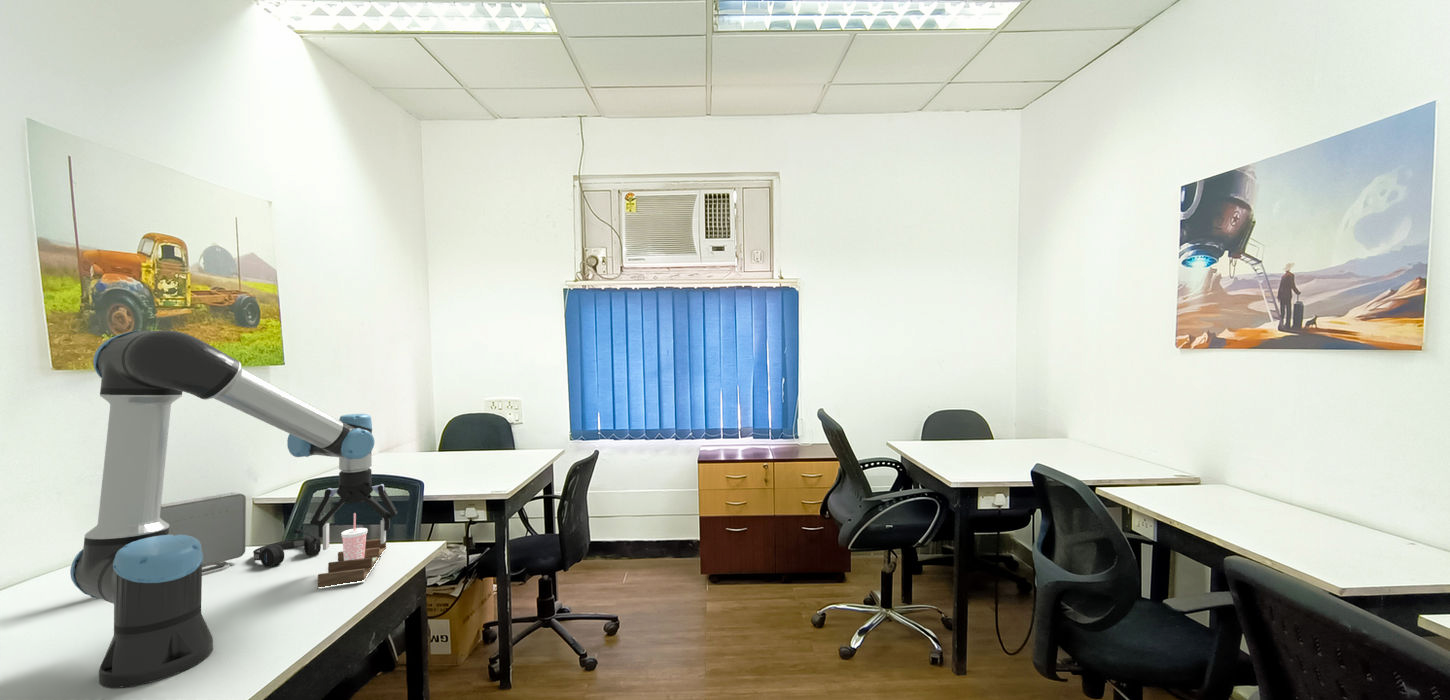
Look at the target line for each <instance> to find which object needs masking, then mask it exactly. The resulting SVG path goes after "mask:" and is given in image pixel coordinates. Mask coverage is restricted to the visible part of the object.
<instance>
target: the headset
mask: <svg viewBox="0 0 1450 700" xmlns="http://www.w3.org/2000/svg"><path fill="white" fill-rule="evenodd" d="M293 533H295V534H301V533H302V534H304V535H308V536H306V537H305V538H296V539H294V538H293V539H288V540H283V541H278V542H275V543H270V544H266V545H263V546H261V547H258V548H256V549H254V550H253V560H254V561H260V562H261V564H262V565H263V566H265V567H269V568H270V567H273V566H278V565H280V564H282V563H283V562H284V560H285V551H284V550H290V549H296V548H302V547H303V550H304V553H305V556H307V557H311V556H313V555H317V554H320V552H321V548H322V545H321V544H322V543H321V538H319V536H318V535H312V534H310V533H308V532H304V531H302V530H301V529H297V528H296V529H294V530H293Z"/></svg>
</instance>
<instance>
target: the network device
mask: <svg viewBox="0 0 1450 700" xmlns="http://www.w3.org/2000/svg"><path fill="white" fill-rule="evenodd" d="M246 498H247V497H246V495H245V494H243V493H240V492H237V491H233V492H227V493H221V494H216V495H209V496H204V497H203V496H202V497H197V498H191V499H190V498H189V499H185V500H178V501H173V502H167V503H161V511H160V518H161V519H162V520H163V521H165V522H166V523H168V524H169V535H173V536H176V535H187V536H191V537H194V538H196V539H197V540H199V542H200V544H201V550H202V553H203V560H202V568H205V567H209V566H215V565H219V566H221V567H219V568H214V569H211V570H206V571H202V577H203V576H207V575H211V574H216V573H219V572H222V571H226V570H227V569H229V568H230V567H231V564H230V563H229V562H227V561H231V560H234V559H239V558H241V557H242V556H244V554H245V553H246V540H247V539H246V536H247V535H246V530H247V529H246V526H247V525H246V520H247V519H246V518H247V517H246V515H247V514H246V513H247V511H246V510H247V506H246V504H247V503H246V502H247V499H246Z"/></svg>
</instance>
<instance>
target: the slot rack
mask: <svg viewBox="0 0 1450 700" xmlns="http://www.w3.org/2000/svg"><path fill="white" fill-rule="evenodd" d="M385 549H386V550H387V540H386V541H385V542H384V544H381V538H377V539H376V538H374V539H368V540H367V539H366V544H365V556H364V558H363V559H354V560H345V561H344V554H343V550H342V551H338V552H337V561H331V562H330V561H329V562H328V565H327V566H328V568H327V569H328V570H327V571H328V572H324V573H318V574H317V588H318V587H325V586H331V585H337V584H343V583H350V582H357V581H362V580H364V579H365V578H366V576H367V574H368V573H369V572H370V570H371V569H372V567H373V566H374V564H375V563H376V561H377V560H378V558H379V557H380V555H381V554H382V552H383V551H384V550H385Z"/></svg>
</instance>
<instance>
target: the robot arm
mask: <svg viewBox="0 0 1450 700" xmlns="http://www.w3.org/2000/svg"><path fill="white" fill-rule="evenodd" d="M92 363H93V368H94V370H95V372H96V374H97V375H98V376H99V378H100V379H101V380H100V381H101V382H100V390H99V391H100V392H99V397H100V398H102V399H104V400H105V401H106V402H107V403H109V415H108V423H107V432H106V433H107V434H106V440H105V451H104V460H103V461H104V463H103V470H102V480H101V489H100V496H99V497H100V499H99V508H98V518H97V525H96V526H94V527H93V528H91V529H90V530H89V531H87V532H86V533H84V534H85V535H84V538H83V539H84V540H83V546H82V547H83V548H82V549H81V550H80V551H78V553H77V554H76V556H75V557H74V558H73V560H72V563H71V565H70V570H69V571H70V573H69V574H70V579H71V581H72V583H73V584H74V586H75V588H77V589H78V590H79V591H80V592H82V594H84V595H87V596H90V597H91V598H93V599H98V600H99V599H100V600H103V601H106V602H109V603H110V604H113V636H112V638H111V641H110V643H109V646H108V648H107V650H106V652H105V655H104V657H103V660H102V662H101V664H100V666H99V669H98V683H99V685H100V686H102V687H105V688H114V689H115V688H117V689H118V688H128V687H133V686H135V687H136V686H139V685H143V684H149V683H152V682H156V681H159V680H162V679H165V678H168V676H169V677H171V676H174V675H177V674H179V673H181V672H184V671H186V670H189V669H190V668H193V667H194V666H196V665H197V664H199V663H201V662H203V661H204V660H205V659H207V658H208V657H209V656H210V655H211V654H212V652H213V651H214V637H213V635H212V632H211V630H210V629H209V626H208V625H207V623H206V620H205V618H204V617H203V614H202V592H203V591H202V589H203V588H202V586H203V584H202V583H203V582H202V581H203V576H202V572H203V567H202V560H203V553H202V550H201V544H200V542H199V540H197V539H196V538H194V537H191V536H187V535H176V536H173V535H169V524H168V523H166V522H165V521H163V520H162V519H161V518H160V511H161V504H162V499H163V490H164V489H163V488H164V478H165V470H166V458H167V450H168V449H167V447H168V438H169V431H170V430H169V427H170V420H171V419H170V418H171V407H172V404H173V403H174V402H176V401H177V400H179V399H180V398H181V397H183V393H186V394H190V395H193V396H194V397H197V398H199V399H200V400H205V401H207V400H210V399H211V400H212V399H214V400H216V401H218V402H221V403H222V404H224V405H227V406H230V407H232V408H233V409H236V410H237V411H240V412H242V413H245V414H247V415H248V416H251V417H253V418H255V419H257V420H260V421H262V422H264V423H266V424H267V425H268V424H269V425H270V426H271V427H275V428H277V429H279V430H280V431H284V432H285V433H287V434H288V437H287V439H286V440H287V442H286V443H287V444H286V445H287V449H288V452H289V454H290V455H291V456H293V457H295V458H303V457H306V458H309V457H310V456H323V457H331V458H332V457H333V458H338V459H339V460H338V461H339V463H338V469H339V473H338V488H333V487H328V488H327V489H326V490H324V496H323V499H322V501H321V502H320V504H319V505H318V508H317V509H316V511H315V512H314V514H313V516H312V518H311V520H310V521H309V524H311V525H315V526H317V527H318V535H317V536H318V537H319V539H321V538H322V551H326V550H327V549H328V548H329V547H330V523H329V522H328V521H329V520H330V518H332V516H333V515H335V513H336V512H337V511H338V510H339V509H340V508H341V507H342V506H343V504H344V503H345V504H348V505H352V504H361V503H363V502H364V503H365V504H366V505H368V506H369V507H370V508H371V509H372V510H374V511H375V512H376V513H377V514H378V515H379V516H380V517H381V518H382V519H381V520H380V539H381V544H384V542H385V541H386V542H387V531H389V530H390V528H391V519H392V518H393V517H396V516H397V514H398V510H397V508H396V507H395V504H394V503H393V502H392V499H391V498H390V497H389V495H388V493H387V491H386V487H385V486H386V485H385V483H380V484H379V485H374V486H373V484H372V469H371V467H372V462H373V461H372V459H373V458H372V453H373V452H372V451H373V449H374V448H375V447H374V446H375V436H374V435H373V422H372V416H371V415H370V414H367V413H348V414H344V415H340V417H339V419H338V418H336V417H334V416H332V415H330V414H328V413H326V412H325V411H323V410H320V409H318V408H317V407H315V406H313V405H311V404H310V403H307V402H306V401H304V400H301V399H300V398H298V397H296V396H295V395H292V394H291V393H288V392H287V391H285V390H283V389H281V388H279V387H277V386H275V385H273V384H271V383H270V382H268V381H265V380H264V379H262V378H260V377H258V376H256V375H254V374H253V373H251V372H249V371H247V370H246V369H244V368H242V363H241V361H239V360H238V359H236V358H234V357H232V356H230V355H229V354H227V353H224V352H223V351H221V350H220V349H217V348H216V347H214V346H212V345H210V344H209V343H207V342H205V341H203V340H201V339H199V338H197V337H195V336H193V335H190V334H188V333H186V332H181V331H177V330H170V329H169V330H166V329H163V330H133V331H128V332H123V333H121V334H117V335H115V336H112V337H110V338H109V339H107V340H105V341H104V342H102V344H100V345H99V346H98V348H97V349H96V351H95V352H94V356H93V362H92ZM373 491H374V492H375V494H378V496H379V498H380V499H381V501H382V503H383V504H384V506H385V508H386V509H387V510H386V509H385V508H384V507H383V505H381V504H380V503H379V502H378V501H377V500H376V499H375V498H374V497H373V496H372V495H371V494H372V492H373ZM335 495H338V496H339V497H340V498H339V500H338V501H337V503H336V504H335V505H333V507H332V508H331V509H330V510H329V511H328V512H327V513H326V514H325V515H324V516H323V517H322V518H321V516H322V515H323V513H324V511H325V509H326V508H327V506H328V504H329V502H330V500H331V499H332V497H334V496H335ZM327 522H328V523H327Z"/></svg>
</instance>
